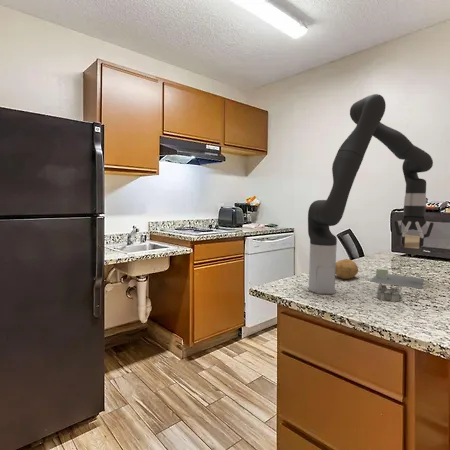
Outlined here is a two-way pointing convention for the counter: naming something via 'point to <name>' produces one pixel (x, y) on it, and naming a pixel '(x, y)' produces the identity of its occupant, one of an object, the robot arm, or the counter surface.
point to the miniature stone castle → (388, 293)
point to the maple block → (412, 241)
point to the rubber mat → (401, 281)
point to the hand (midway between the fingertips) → (412, 246)
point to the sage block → (382, 273)
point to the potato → (346, 269)
